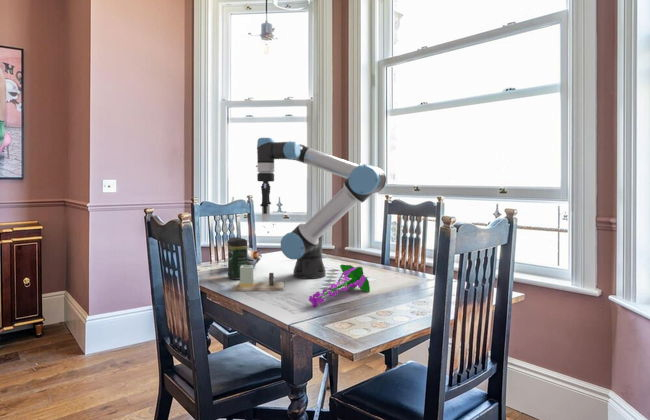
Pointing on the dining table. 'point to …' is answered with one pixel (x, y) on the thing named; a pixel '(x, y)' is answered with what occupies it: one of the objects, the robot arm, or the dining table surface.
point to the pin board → (262, 285)
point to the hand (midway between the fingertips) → (266, 219)
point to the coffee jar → (236, 256)
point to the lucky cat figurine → (253, 257)
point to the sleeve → (246, 276)
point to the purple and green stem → (349, 272)
